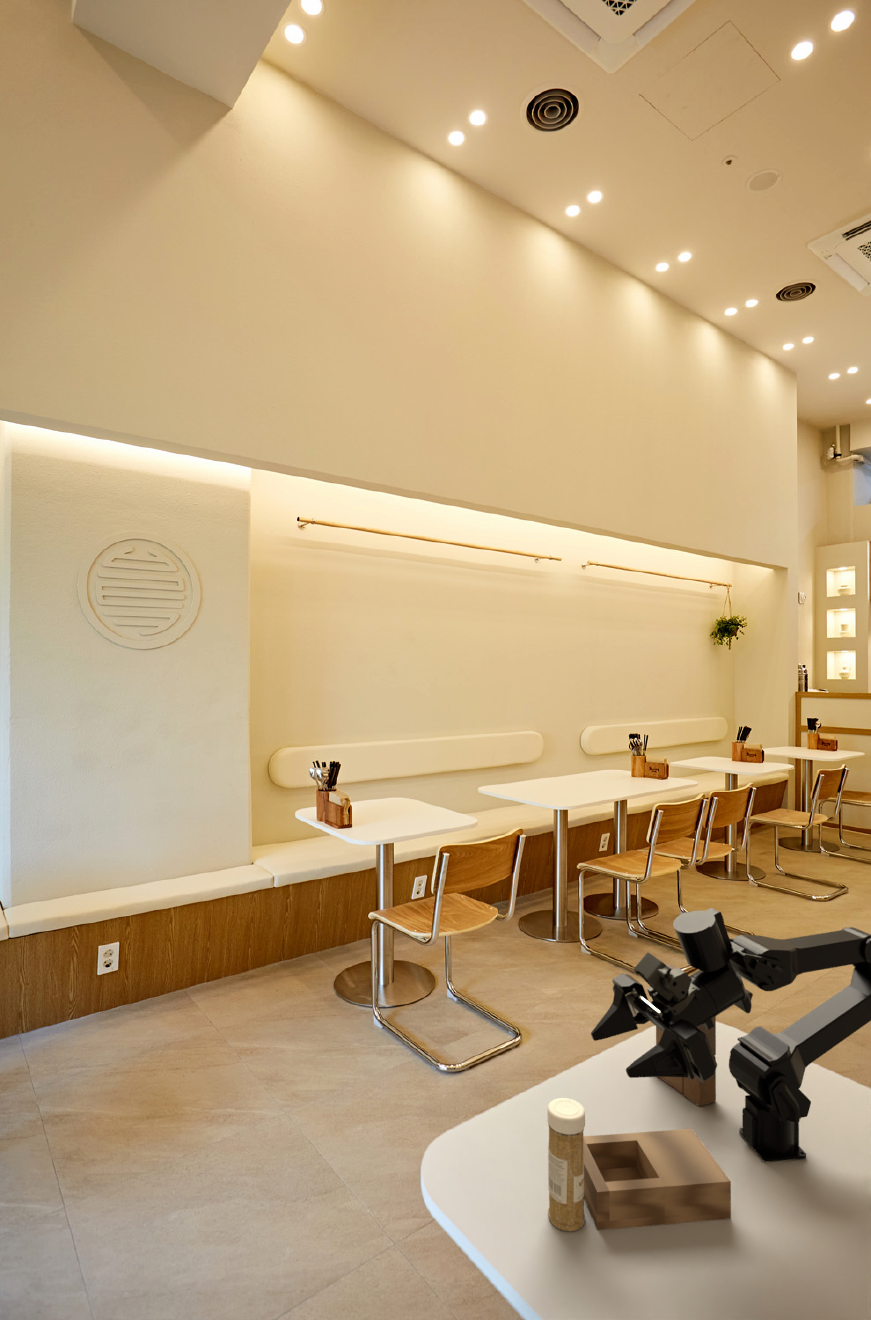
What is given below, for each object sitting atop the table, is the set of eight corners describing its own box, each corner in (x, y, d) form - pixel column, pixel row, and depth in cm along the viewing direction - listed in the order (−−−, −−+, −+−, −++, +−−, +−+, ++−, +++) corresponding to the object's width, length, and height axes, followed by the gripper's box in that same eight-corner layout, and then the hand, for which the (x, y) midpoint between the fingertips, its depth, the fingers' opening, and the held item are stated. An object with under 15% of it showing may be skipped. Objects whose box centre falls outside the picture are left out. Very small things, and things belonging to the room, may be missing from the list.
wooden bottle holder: (691, 1162, 95) (691, 1128, 95) (730, 1218, 85) (730, 1181, 85) (571, 1171, 93) (571, 1137, 93) (597, 1230, 83) (597, 1192, 83)
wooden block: (700, 1108, 107) (699, 990, 108) (650, 1072, 117) (650, 964, 117) (717, 1102, 109) (716, 986, 109) (666, 1067, 118) (666, 961, 119)
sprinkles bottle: (591, 1229, 83) (591, 1116, 84) (555, 1236, 82) (556, 1121, 83) (575, 1201, 88) (575, 1094, 88) (541, 1207, 87) (541, 1098, 87)
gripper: (644, 921, 104) (557, 971, 101) (727, 972, 86) (625, 1036, 83) (669, 986, 105) (584, 1039, 101) (757, 1050, 87) (657, 1118, 83)
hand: (609, 1054), depth 92 cm, fingers open, 9 cm apart
